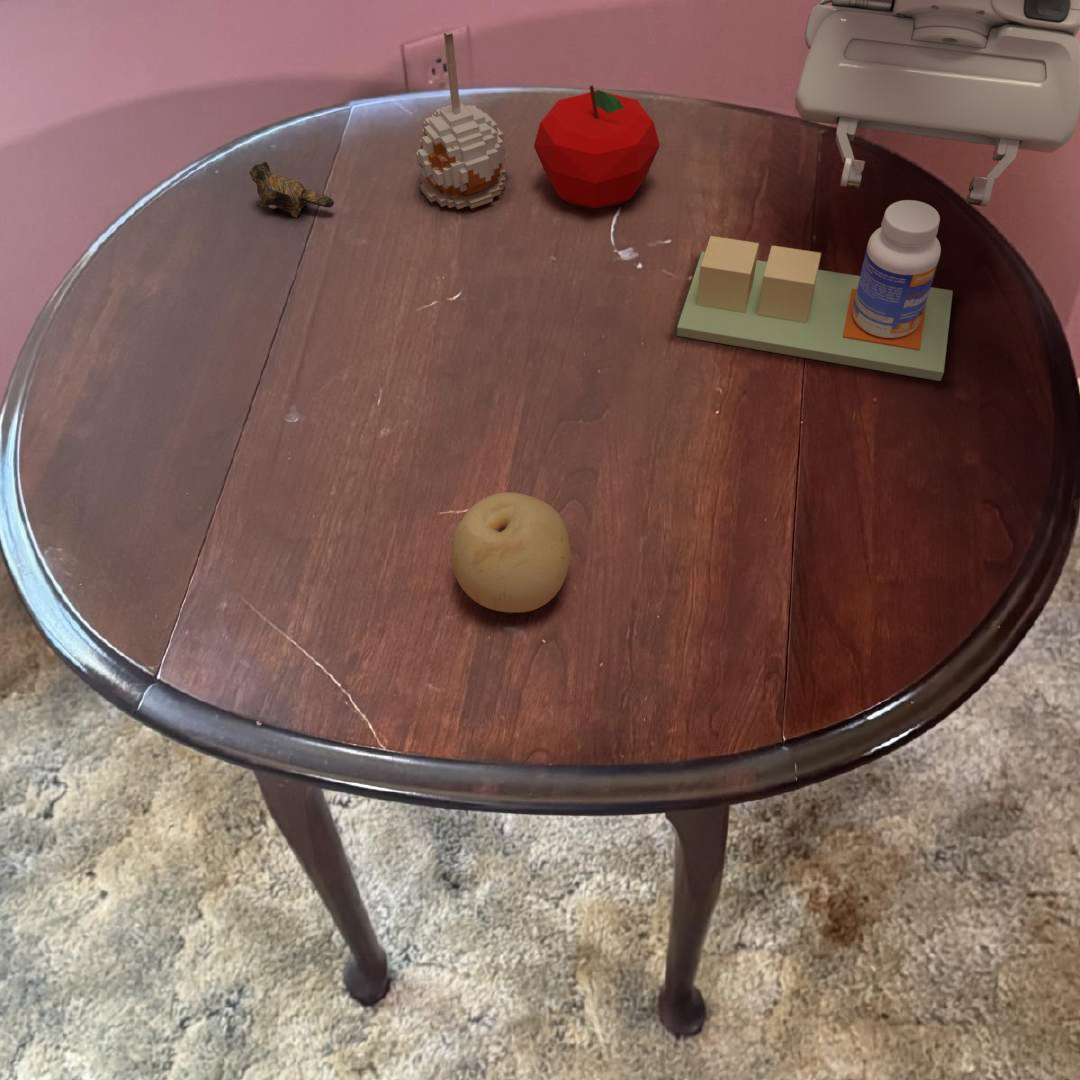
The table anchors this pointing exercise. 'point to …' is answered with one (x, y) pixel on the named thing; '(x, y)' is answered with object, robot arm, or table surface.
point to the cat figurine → (284, 191)
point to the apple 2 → (596, 148)
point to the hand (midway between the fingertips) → (912, 195)
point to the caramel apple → (460, 150)
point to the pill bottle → (898, 270)
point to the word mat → (820, 328)
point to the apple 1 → (511, 552)
